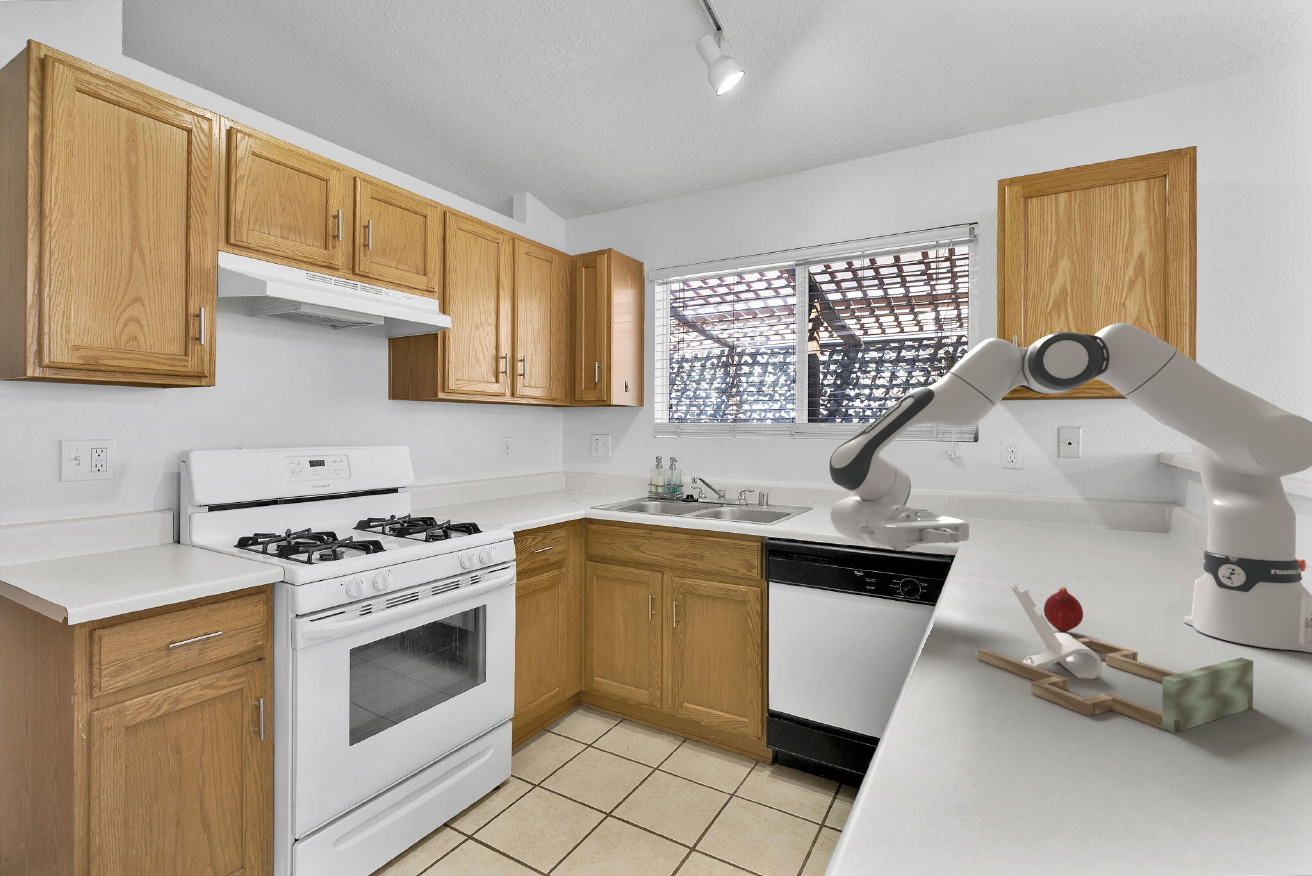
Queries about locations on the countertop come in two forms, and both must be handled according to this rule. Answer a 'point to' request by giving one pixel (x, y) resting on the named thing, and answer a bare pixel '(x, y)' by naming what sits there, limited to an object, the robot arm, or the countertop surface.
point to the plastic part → (1058, 644)
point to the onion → (1063, 610)
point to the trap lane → (1182, 694)
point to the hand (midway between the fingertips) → (954, 538)
